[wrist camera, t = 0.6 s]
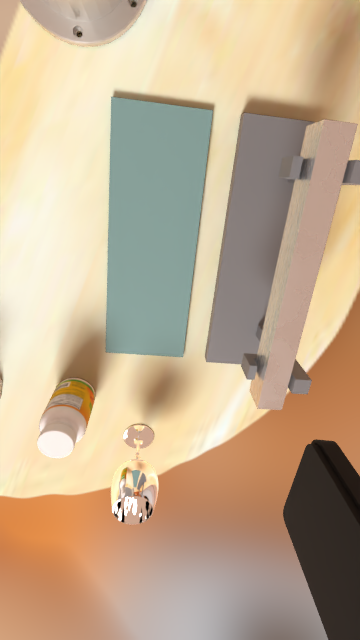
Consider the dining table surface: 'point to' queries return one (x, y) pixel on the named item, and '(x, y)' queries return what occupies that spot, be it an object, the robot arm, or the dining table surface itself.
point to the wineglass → (135, 481)
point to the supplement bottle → (65, 417)
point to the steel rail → (300, 256)
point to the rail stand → (257, 238)
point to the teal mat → (153, 223)
